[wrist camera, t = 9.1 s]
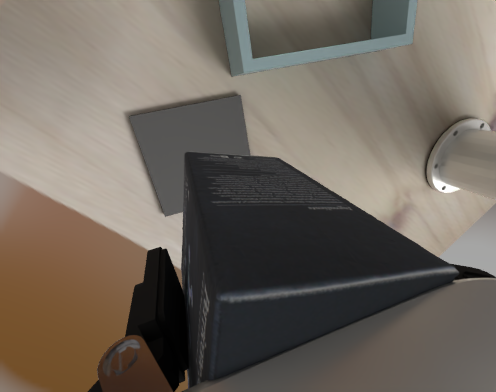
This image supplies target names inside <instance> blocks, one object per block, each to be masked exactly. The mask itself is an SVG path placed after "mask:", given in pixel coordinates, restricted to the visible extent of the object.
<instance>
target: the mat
mask: <svg viewBox="0 0 496 392" xmlns="http://www.w3.org/2000/svg"><path fill="white" fill-rule="evenodd" d="M129 118H130V121H131V124H132V127H133V129H134V132H135V135H136V138H137V140H138V143H139V146H140V149H141V151H142V154H143V157H144V160H145V162H146V165H147V168H148V171H149V173H150V176H151V179H152V182H153V185H154V187H155V190H156V193H157V196H158V198H159V201H160V204H161V207H162V209H163V212H164V215H165V217H166V216H169V215H173V214H177V213H180V212H183V202H184V154H185V153H186V152H189V151H191V152H202V153H218V154H232V155H248V156H250V150H249V144H248V138H247V132H246V125H245V119H244V113H243V107H242V101H241V95H238V96H232V97H227V98H222V99H217V100H211V101H206V102H201V103H196V104H191V105H185V106H180V107H175V108H170V109H164V110H159V111H154V112H149V113H144V114H138V115H133V116H129Z"/></svg>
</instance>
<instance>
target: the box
mask: <svg viewBox="0 0 496 392" xmlns="http://www.w3.org/2000/svg"><path fill="white" fill-rule="evenodd" d="M182 229H183V245H182V264H181V270H182V285H183V286H182V287H183V293H184V300H185V317H186V332H187V349H188V365H189V369H187V372H188V389H189V388H191V387H193V386H195V385H197V384H200V383H202V382H204V381H206V380H207V381H212V380H216V379H219V378H222V377H224V376H227V375H229V374H232V373H234V372H237V371H239V370H241V369H244V368H246V367H249V366H251V365H253V364H256V363H258V362H261V361H263V360H266V359H268V358H271V357H273V356H275V355H278V354H280V353H283V352H285V351H287V350H290V349H292V348H294V347H297V346H299V345H302V344H304V343H306V342H309V341H311V340H313V339H316V338H318V337H321V336H323V335H325V334H328V333H330V332H332V331H335V330H337V329H339V328H342V327H344V326H347V325H349V324H351V323H353V322H356V321H358V320H360V319H363V318H365V317H368V316H370V315H372V314H375V313H377V312H379V311H382V310H384V309H386V308H389V307H391V306H393V305H396V304H398V303H400V302H403V301H405V300H408V299H410V298H412V297H415V296H417V295H419V294H422V293H424V292H427V291H429V290H432V289H434V288H437V287H439V286H442V285H445V284H448V283H451V282H453V280H454V278H455V277H456V276H457V275H459V274H460V273H459V271H457V270H456V268H455V267H454V266H453V265H451V264H449V263H447V262H445V261H444V260H442V259H440V258H438V257H437V256H435V255H434V254H432V253H430V252H429V251H427V250H426V249H424V248H423V247H421V246H420V245H418V244H417V243H415V242H413V241H412V240H410V239H408V238H407V237H405V236H403V235H402V234H400V233H399V232H397V231H395V230H394V229H392V228H390V227H389V226H387V225H386V224H384V223H383V222H381V221H379V220H377V219H376V218H375V217H373V216H372V215H370V214H368V213H366V212H365V211H363V210H362V209H360V208H358V207H357V206H355V205H354V204H352V203H350V202H349V201H347V200H346V199H344V198H342V197H341V196H339V195H338V194H336V193H334V192H333V191H331V190H329V189H328V188H326V187H324V186H323V185H321V184H320V183H318V182H317V181H315V180H313V179H312V178H310V177H308V176H307V175H305V174H304V173H302V172H301V171H299V170H297V169H296V168H294V167H293V166H291V165H289V164H288V163H286V162H284V161H283V160H281V159H280V158H276V157H263V156H248V155H232V154H218V153H202V152H191V151H189V152H186V153H185V154H184V202H183V228H182Z"/></svg>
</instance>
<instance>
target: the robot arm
mask: <svg viewBox="0 0 496 392" xmlns="http://www.w3.org/2000/svg"><path fill="white" fill-rule="evenodd" d="M427 180H428V182H429V185H430V186H431V187H432V188H433V189H435V190H437V191H439V192H443V193H450V192H454V191H457V190H459V189H463V190H466V191H469V192H472V193H475V194H478V195H481V196H484V197H488V198H491V199H494V200H496V131H491V130H490V127H489V125H488V124H487V123H486V122H485V121H483V120H481V119H464V120H461V121H459V122H457V123H455V124H454V125H453V126H451V127H450V128H449V129H448V130H447V131H446V132H445V133H444V134H443V135H442V136H441V137H440V138H439V140H438V141H437V143H436V144H435V146H434V148H433V150H432V152H431V154H430V157H429V160H428V164H427ZM451 265H453V266H454V267H455V268H456V270H457V271H459V273H460V274H459V275H457V276H456V277H455V278H454V280H453V282H451V283H448V284H445V285H442V286H439V287H437V288H434V289H432V290H429V291H427V292H424V293H422V294H419V295H417V296H415V297H412V298H410V299H408V300H405V301H403V302H400V303H398V304H396V305H393V306H391V307H389V308H386V309H384V310H382V311H379V312H377V313H375V314H372V315H370V316H368V317H365V318H363V319H360V320H358V321H356V322H353V323H351V324H349V325H347V326H344V327H342V328H339V329H337V330H335V331H332V332H330V333H328V334H325V335H323V336H321V337H318V338H316V339H313V340H311V341H309V342H306V343H304V344H302V345H299V346H297V347H294V348H292V349H290V350H287V351H285V352H283V353H280V354H278V355H275V356H273V357H271V358H268V359H266V360H263V361H261V362H258V363H256V364H253V365H251V366H249V367H246V368H244V369H241V370H239V371H237V372H234V373H232V374H229V375H227V376H224V377H222V378H219V379H216V380H212V381H207V380H206V381H204V382H202V383H200V384H197V385H195V386H193V387H191V388H189V389H186V390H184V391H182V392H496V277H495V276H493V275H491V274H489V273H487V272H485V271H482V270H480V269H476V268H472V267H466V266H460V265H454V264H451ZM187 369H189V365H188V349H187V332H186V317H185V300H184V293H183V290H182V288H181V285H180V282H179V280H178V277H177V274H176V272H175V269H174V267H173V264H172V261H171V259H170V256H169V254H168V251H167V249H163V250H162V248H161V247H159V248H155V249H152V250H149V251H148V253H147V260H146V267H145V274H144V281H143V283H140V284H137V285H135V287H134V292H133V297H132V303H131V308H130V314H129V319H128V324H127V330H126V335H125V337H124V338H122V339H120V340H118V341H117V342H115V343H114V344H113V345H112V346H110V347H109V349H108V350H107V351H106V352H105V353H104V355H103V356H102V358H101V360H100V362H99V365H98V368H97V371H98V378H99V380H98V381H97V382H96V383H95V384H94V385H93V386H92V388H91V389H90V390H89V391H88V392H175V390H176V389H177V387H178V386H179V383H181V382H183V381H185V370H187Z"/></svg>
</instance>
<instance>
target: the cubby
mask: <svg viewBox="0 0 496 392" xmlns="http://www.w3.org/2000/svg"><path fill="white" fill-rule="evenodd" d="M219 5H220V11H221V17H222V23H223V29H224V35H225V40H226V46H227V52H228V58H229V64H230V70H231V75H232V76H238V75H244V74H249V73H255V72H261V71H266V70H272V69H278V68H284V67H289V66H295V65H301V64H307V63H312V62H318V61H324V60H329V59H335V58H341V57H347V56H352V55H358V54H364V53H370V52H375V51H380V50H385V49H390V48H395V47H399V46H404V45H409V44H412V42H413V34H414V25H415V17H416V8H417V0H373V5H372V24H371V40H366V41H360V42H354V43H347V44H341V45H335V46H329V47H323V48H317V49H310V50H304V51H298V52H292V53H286V54H280V55H273V56H267V57H261V58H255V59H253V58H252V50H251V43H250V35H249V28H248V20H247V13H246V6H245V0H219Z"/></svg>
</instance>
